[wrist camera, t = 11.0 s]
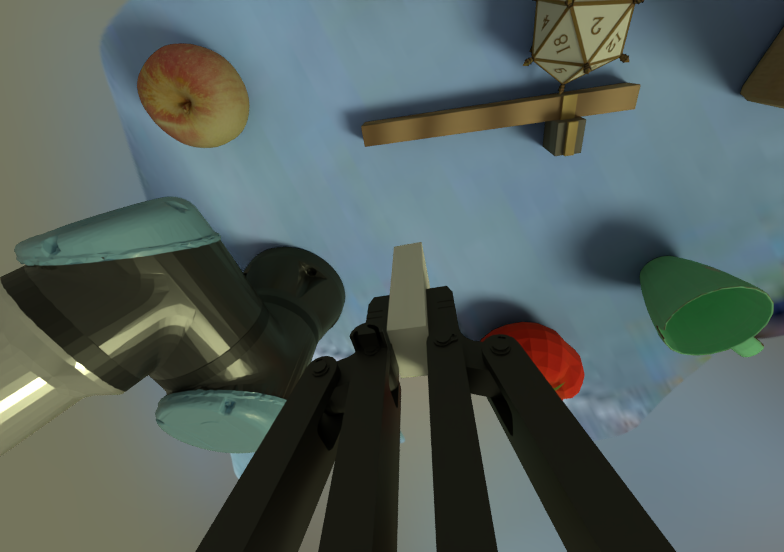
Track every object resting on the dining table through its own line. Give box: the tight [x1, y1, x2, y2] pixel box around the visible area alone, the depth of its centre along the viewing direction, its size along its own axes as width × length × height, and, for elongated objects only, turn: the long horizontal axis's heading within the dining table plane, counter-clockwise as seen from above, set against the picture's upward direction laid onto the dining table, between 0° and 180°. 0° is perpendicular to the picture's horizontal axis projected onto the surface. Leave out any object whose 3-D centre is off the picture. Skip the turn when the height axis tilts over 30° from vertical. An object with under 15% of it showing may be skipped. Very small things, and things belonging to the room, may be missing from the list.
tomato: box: [480, 322, 584, 401], centre depth 48 cm, size 14×16×10 cm
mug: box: [639, 256, 773, 357], centre depth 39 cm, size 15×10×10 cm
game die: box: [523, 0, 644, 94], centre depth 27 cm, size 9×8×10 cm
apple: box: [137, 44, 249, 148], centre depth 32 cm, size 9×9×8 cm
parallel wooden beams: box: [361, 82, 640, 156], centre depth 30 cm, size 26×18×4 cm
